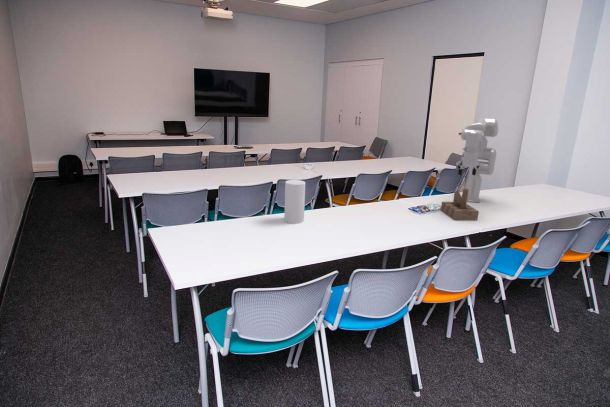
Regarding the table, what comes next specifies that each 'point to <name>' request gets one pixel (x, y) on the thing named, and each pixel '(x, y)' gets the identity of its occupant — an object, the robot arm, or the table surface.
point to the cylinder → (294, 201)
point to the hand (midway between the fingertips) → (466, 174)
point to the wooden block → (460, 199)
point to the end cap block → (459, 211)
